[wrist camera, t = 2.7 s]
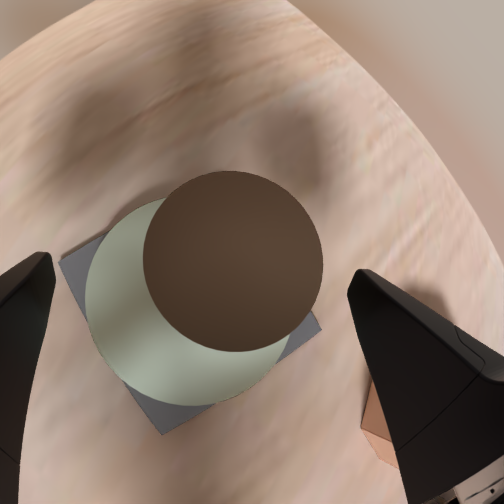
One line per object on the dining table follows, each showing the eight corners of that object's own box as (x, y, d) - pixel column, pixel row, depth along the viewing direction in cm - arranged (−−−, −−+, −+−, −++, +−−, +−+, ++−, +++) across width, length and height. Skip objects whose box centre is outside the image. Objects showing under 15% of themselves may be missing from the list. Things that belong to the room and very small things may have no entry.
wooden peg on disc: (321, 329, 18) (513, 328, 6) (161, 435, 15) (163, 609, 3) (224, 171, 19) (301, -5, 7) (57, 262, 15) (-94, 163, 3)
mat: (318, 329, 18) (321, 329, 18) (161, 432, 15) (161, 435, 15) (222, 174, 19) (223, 171, 19) (60, 263, 16) (57, 262, 15)
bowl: (461, 400, 20) (496, 405, 17) (391, 478, 18) (424, 495, 14) (428, 319, 21) (467, 316, 17) (344, 400, 18) (380, 415, 14)
